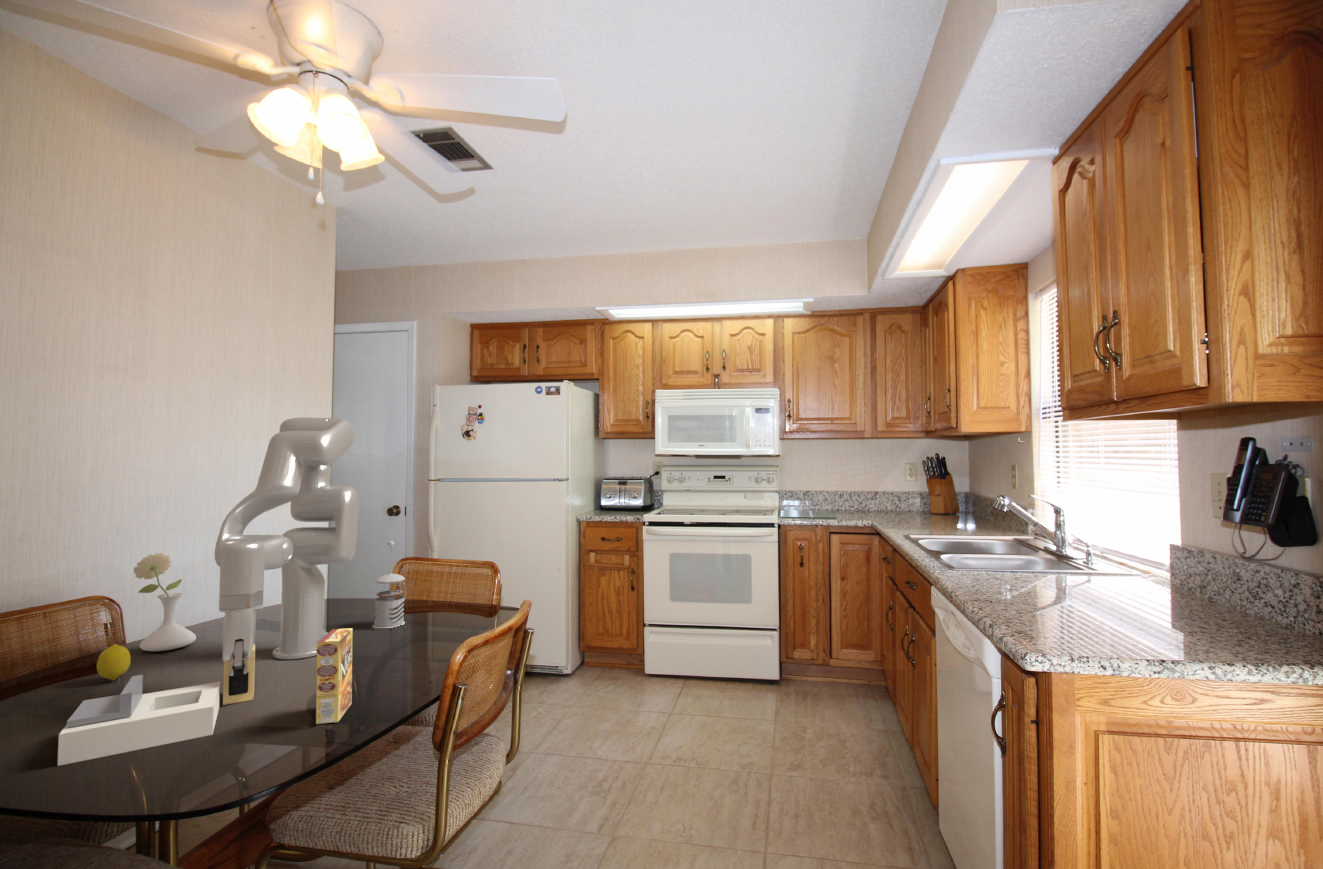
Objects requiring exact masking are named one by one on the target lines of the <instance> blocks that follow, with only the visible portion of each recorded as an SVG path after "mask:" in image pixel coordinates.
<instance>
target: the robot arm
mask: <svg viewBox="0 0 1323 869" xmlns="http://www.w3.org/2000/svg"><path fill="white" fill-rule="evenodd" d="M354 428H355V427H354V426H353V424H352V422H350V420H348V419H346V418H342V417H341V418H340V417H293V418H292V417H291V418H288V419H286V420H283V421H282V422H281V424H280V425H279V432H277V433H275V434H274V435H273V436H272V437H271V438H270V440H269V441H268V446H267V449H266V452H265V456H264V459H263V462H262V466H261V470H260V474H259V477H258V481H257V484H256V487H255V489H254V490H253V491H252V492H251V493H249V494H248V495H247V496H245V497H243V498H242V499H241V500H240V501H239V502H238V503H237V504H235V506H234V507H233V508H232V509H231V510H229V512H228V514H226V517H225V518H224V520H223V521H222V524H221V526H220V529H219V530H220V531H219V533H218V535H217V536H218V537H217V540H216V543H215V548H214V560H215V563H216V565H217V566H218V567H219V592H218V596H219V597H218V599H219V600H218V611H219V612H222V613H224V618H223V633H222V634H223V636H222V639H223V640H222V656H221V661H222V662H223V663H224V662H226V660H229V659H230V657H231V670H230V675H229V696H233V695H239V694H244V693H247V692H248V673H249V672H247V660H248V658H250V657H251V654H252V650H253V644H255V636H256V620H257V609H259V608H261V607H263V606H264V581H265V580H264V578H265V571H268V570H270V571H271V570H277V569H280V568H281V602H280V603H281V604H280V607H281V608H280V610H281V611H280V612H281V613H280V641H279V642H280V643H279V644H280V645H279V646H278V647H276V648H274V650H273V651H272V657H273V658H275V659H278V660H299V659H305V658H311V657H314V656H317V642H318V641H320V640H321V639H322V638H323V637H325V636H326V635H327V634H328V633H329V632H328V631H326V629H325V602H326V598H325V597H326V595H325V594H326V581H325V580H326V579H325V577H324V575H323V573H322V572H321V570H320V569H319V567H318V565H319V566H320V565H321V566H322V565H343V564H346V563H348V562H351V560H352V559H353V558H354V555H355V552H356V547H357V542H358V541H357V538H358V528H359V527H358V526H359V518H360V517H359V516H360V497H359V493H358V492H357V490H356V489H355V488H353V487H352V486H349V485H332V484H331V478H332V466H331V465H332V464H333V463H335V462H336V461H338V460H339V458H341V456H343V455H344V454H345V453H346V452H347V451H348V450H349V449H350V447H351V446H352V445H353V442H354V438H355V429H354ZM288 503H290V515H291V518H293V519H294V521H298V522H301V523H302V522H303V523H334V525H335V526H323V527H322V526H309V527H308V526H307V527H296V528H292V529H289V530H287V531H285V532H283V534H282V535H281V534H243V533H244V532H245V529H246V528H247V527H248V525H249V524H250V523H251V522H253V520H254V519H256V518H257V517H259V516H260V515H263V514H264V513H266V512H268V511H271V510H273V509H275V508H278V507H280V506H283V505H285V504H288ZM243 640H244V645H243ZM235 641H236V643H235ZM233 653H234V656H235V659H233ZM242 655H245V658H242ZM247 657H248V658H247ZM242 661H244V663H242Z"/></svg>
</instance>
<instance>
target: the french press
mask: <svg viewBox="0 0 1323 869" xmlns="http://www.w3.org/2000/svg"><path fill="white" fill-rule="evenodd" d="M394 545H395V541H394V540H390V541H388V542H387V546H389V548H390V549H389V550H390V552H389V557H390V558H389V560H390V561H389V573H386V574H383V575H380V576H379V577H377V578H376V579H375V580H374V581H375V583H377V584H388V585H389V586H391V585H392V584H394V585H395V587H399V589H400V590H398V589H396V590H391V589H389V590H383V591H379V592H377V593H376V596H377V597H376V598H375V601H374V602H375V603H374V604H375V605H374V607H375V609H374V624H373V625H372V626H373V627H374V628H393V627H397V626H400V625H404V624H405V622H406V621H405V620H404V619H405V618H404V617H405V616H404V614H405V611H404V610H405V609H404V606H405V600H406V597H407V596H406V595H407V588H406V584H405V582H404V581H405V580H406V578H405V577H404V576H403V575H401V574H398V573H392V563H391V562H392V546H394ZM402 583H403V587H404V592H403V590H402V587H401V585H402ZM397 584H398V585H397ZM403 593H404V595H403ZM397 597H398V599H397Z"/></svg>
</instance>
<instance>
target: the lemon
mask: <svg viewBox="0 0 1323 869" xmlns="http://www.w3.org/2000/svg"><path fill="white" fill-rule="evenodd" d="M130 666H131V653H130V651H129V650H128V648H127V647H126V646H124V645H118V644H117V643H113V644H112V645H111V646H108V647H107V648H105V649H103V651H102V652H101V653H100V654H99V656H98V659H97V662H96V671H97V673H98V674H99V676H100V677H102V678H104V679H109V680H110V681H111V682H112V681H116V679H118V678H119V677H121V676H122V675H124V674H125V673H126V672H127V671H128V670H129V668H130Z"/></svg>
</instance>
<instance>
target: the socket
mask: <svg viewBox="0 0 1323 869" xmlns="http://www.w3.org/2000/svg"><path fill="white" fill-rule="evenodd" d="M220 691H221V681H215V682H210V683H203V684H197V685H196V684H195V685H190V686H185V687H179V688H173V689H166V690H160V691H155V692H154V691H153V692H148V693H142V698H141V699H140V701H139V703H138V705H137V706H136V708H135V710H134V712H133V714H132V715H131V716H129V717H124V718H118V719H113V720H107V721H101V722H96V723H90V724H84V725H79V726H73V727H68V728H67V724H66V725H65V726H64V727H63V728H62V730H61V731H60V733H58V745H57V746H58V748H57V767H59V766H60V767H61V766H64V765H69V764H74V763H79V762H83V761H89V760H95V759H98V758H104V757H109V756H114V755H119V754H124V753H128V752H129V753H130V752H134V751H139V750H144V749H147V748H153V747H154V748H155V747H158V746H163V745H167V744H169V745H170V744H172V743H177V742H183V741H188V740H193V739H197V738H198V739H199V738H203V737H207V736H213V734H214V730H215V726H216V722H217V719H218V714H219V710H220V698H221V697H220V695H221V694H220V693H221V692H220Z"/></svg>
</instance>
